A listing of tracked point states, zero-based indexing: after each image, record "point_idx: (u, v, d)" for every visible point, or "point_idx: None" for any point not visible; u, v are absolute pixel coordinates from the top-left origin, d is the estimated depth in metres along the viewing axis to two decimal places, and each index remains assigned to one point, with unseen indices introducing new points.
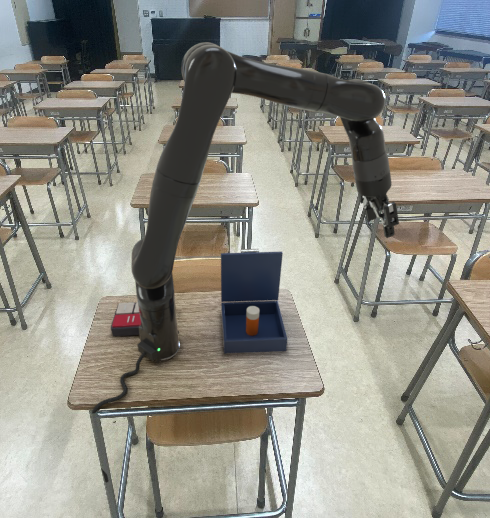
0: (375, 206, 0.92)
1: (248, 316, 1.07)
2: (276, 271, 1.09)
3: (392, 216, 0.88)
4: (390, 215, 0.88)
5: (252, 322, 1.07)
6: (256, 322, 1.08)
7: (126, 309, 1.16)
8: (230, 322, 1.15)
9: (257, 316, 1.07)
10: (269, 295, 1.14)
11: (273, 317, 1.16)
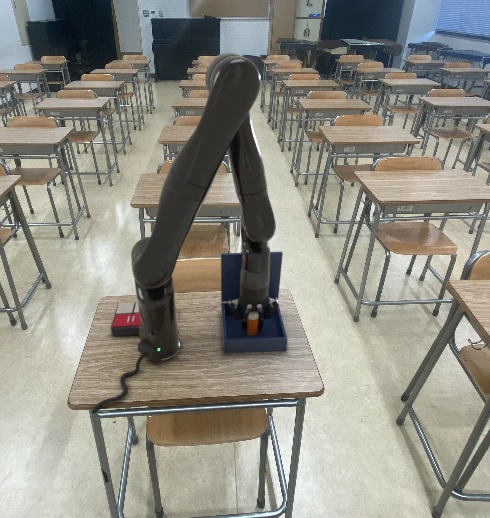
0: (261, 307, 1.05)
1: (248, 316, 1.07)
2: (276, 271, 1.09)
3: None
4: None
5: (252, 322, 1.07)
6: (256, 322, 1.08)
7: (126, 309, 1.16)
8: (230, 322, 1.15)
9: (257, 316, 1.07)
10: (269, 295, 1.14)
11: (273, 317, 1.16)
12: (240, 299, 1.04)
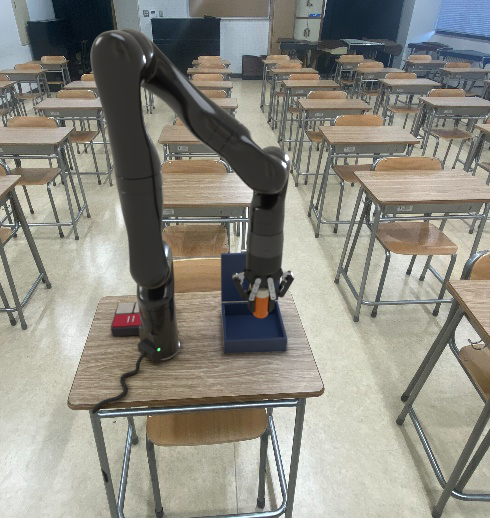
0: (273, 282, 0.85)
1: (256, 294, 0.87)
2: None
3: None
4: None
5: (261, 301, 0.88)
6: (266, 301, 0.88)
7: (126, 309, 1.16)
8: (230, 322, 1.15)
9: (267, 293, 0.87)
10: None
11: (273, 317, 1.16)
12: (247, 272, 0.84)
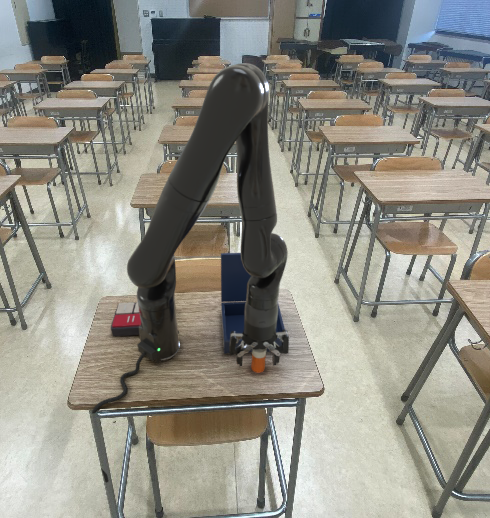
0: (269, 343, 0.94)
1: (254, 354, 0.97)
2: None
3: None
4: None
5: (259, 361, 0.97)
6: (263, 361, 0.98)
7: (126, 309, 1.16)
8: (230, 322, 1.15)
9: (264, 354, 0.96)
10: None
11: None
12: (244, 336, 0.93)
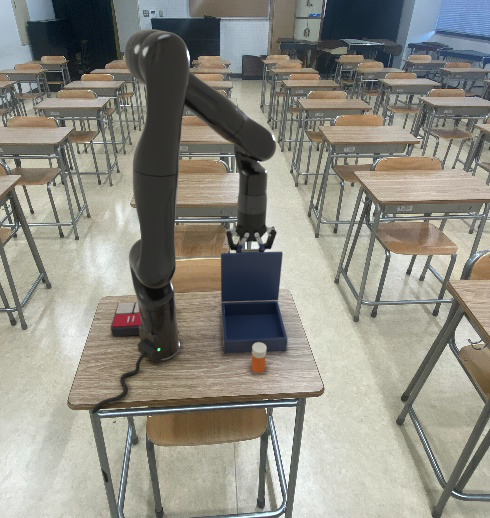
0: (259, 236, 1.06)
1: (254, 354, 0.97)
2: (276, 271, 1.09)
3: None
4: None
5: (259, 361, 0.97)
6: (263, 361, 0.98)
7: (126, 309, 1.16)
8: (230, 322, 1.15)
9: (264, 354, 0.96)
10: (269, 295, 1.14)
11: (273, 317, 1.16)
12: (238, 228, 1.05)
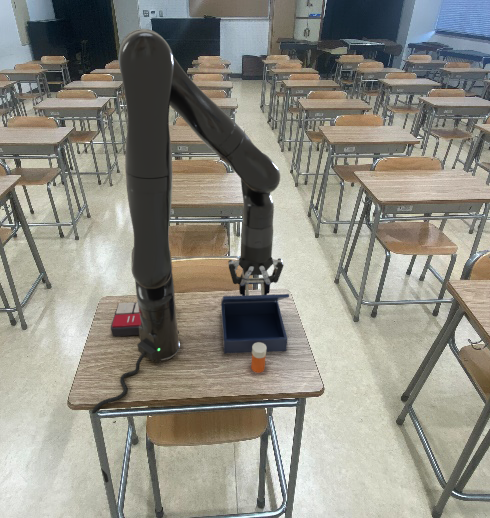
0: (265, 269, 0.98)
1: (254, 354, 0.97)
2: None
3: None
4: None
5: (259, 361, 0.97)
6: (263, 361, 0.98)
7: (126, 309, 1.16)
8: (230, 322, 1.15)
9: (264, 354, 0.96)
10: None
11: (273, 317, 1.16)
12: (241, 261, 0.96)
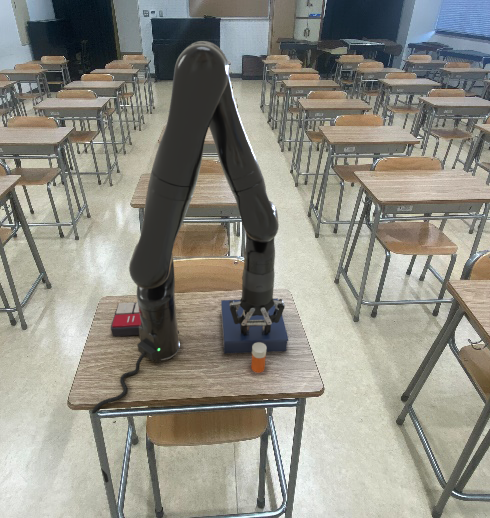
0: (266, 310, 0.98)
1: (254, 354, 0.97)
2: None
3: None
4: None
5: (259, 361, 0.97)
6: (263, 361, 0.98)
7: (126, 309, 1.16)
8: None
9: (264, 354, 0.96)
10: None
11: None
12: (242, 302, 0.97)
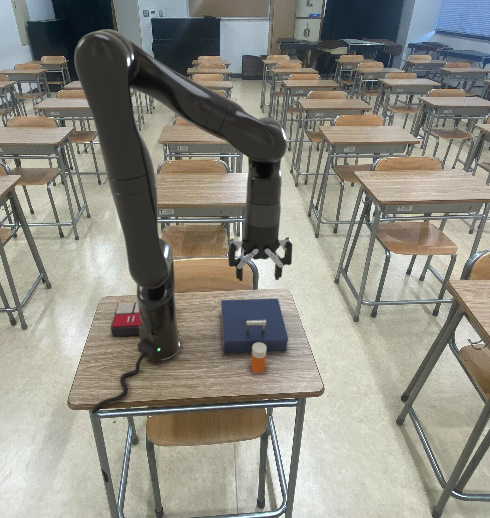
0: (271, 251, 0.88)
1: (254, 354, 0.97)
2: None
3: None
4: None
5: (259, 361, 0.97)
6: (263, 361, 0.98)
7: (126, 309, 1.16)
8: None
9: (264, 354, 0.96)
10: None
11: None
12: (244, 243, 0.87)
